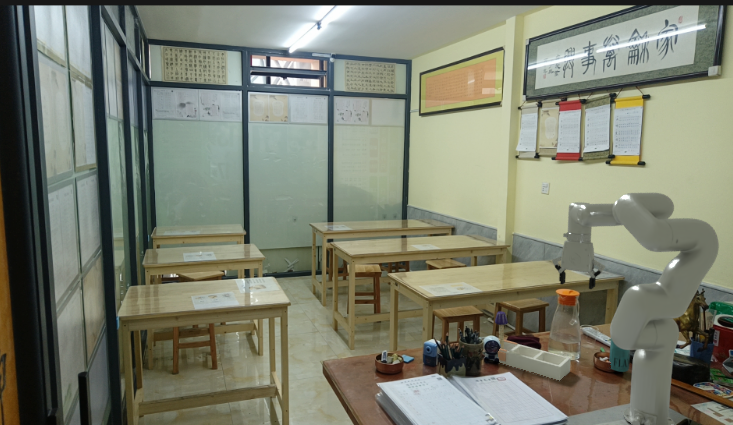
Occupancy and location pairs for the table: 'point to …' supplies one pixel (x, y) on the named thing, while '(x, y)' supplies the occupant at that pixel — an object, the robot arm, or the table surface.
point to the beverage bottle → (619, 358)
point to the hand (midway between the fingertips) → (576, 286)
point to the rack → (534, 360)
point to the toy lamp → (501, 326)
